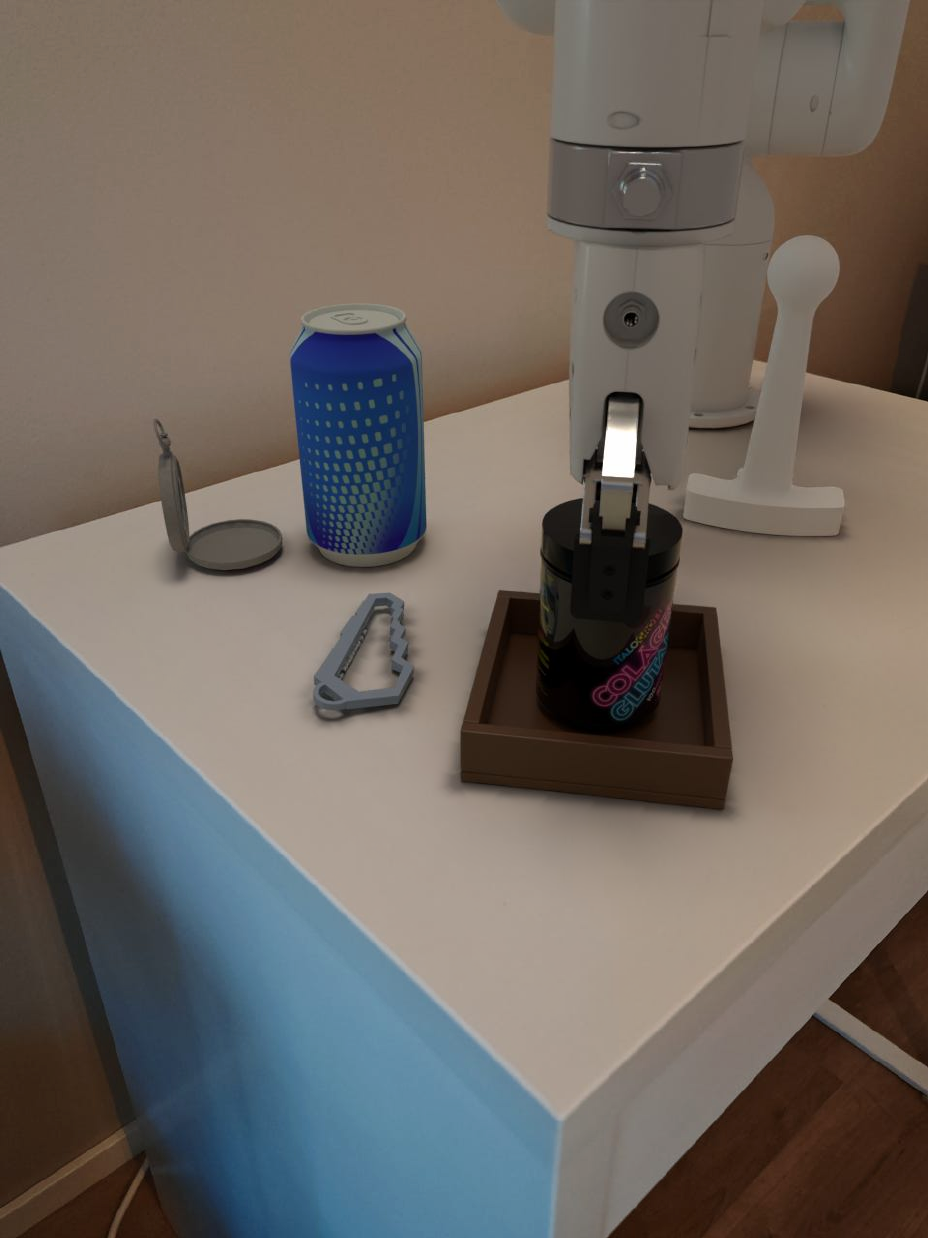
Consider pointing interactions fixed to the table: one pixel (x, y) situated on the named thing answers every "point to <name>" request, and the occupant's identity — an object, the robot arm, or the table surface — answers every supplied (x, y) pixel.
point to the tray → (594, 762)
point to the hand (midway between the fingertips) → (609, 565)
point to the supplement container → (603, 632)
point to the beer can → (360, 432)
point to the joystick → (778, 415)
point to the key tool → (344, 654)
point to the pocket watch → (215, 542)
